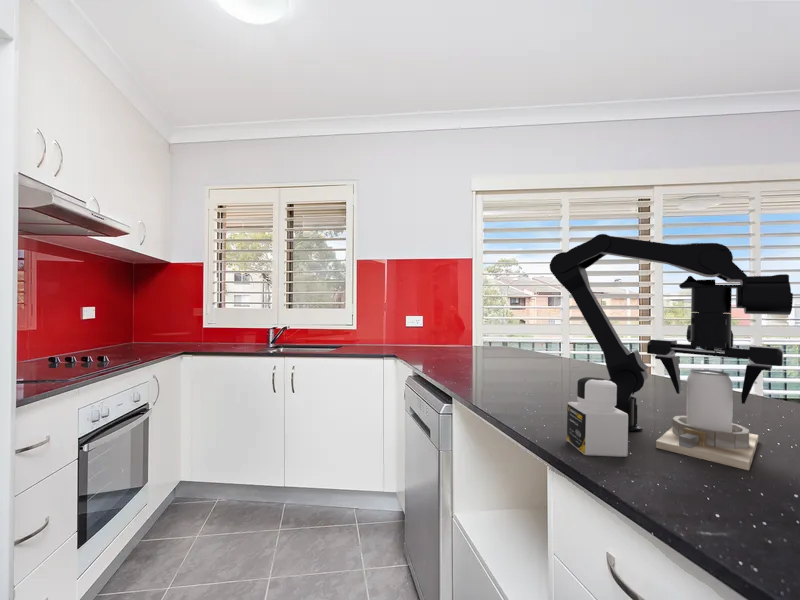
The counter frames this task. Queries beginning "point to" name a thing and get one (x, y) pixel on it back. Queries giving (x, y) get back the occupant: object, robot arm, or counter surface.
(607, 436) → the medicine bottle
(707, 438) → the board
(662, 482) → the counter surface
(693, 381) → the can
